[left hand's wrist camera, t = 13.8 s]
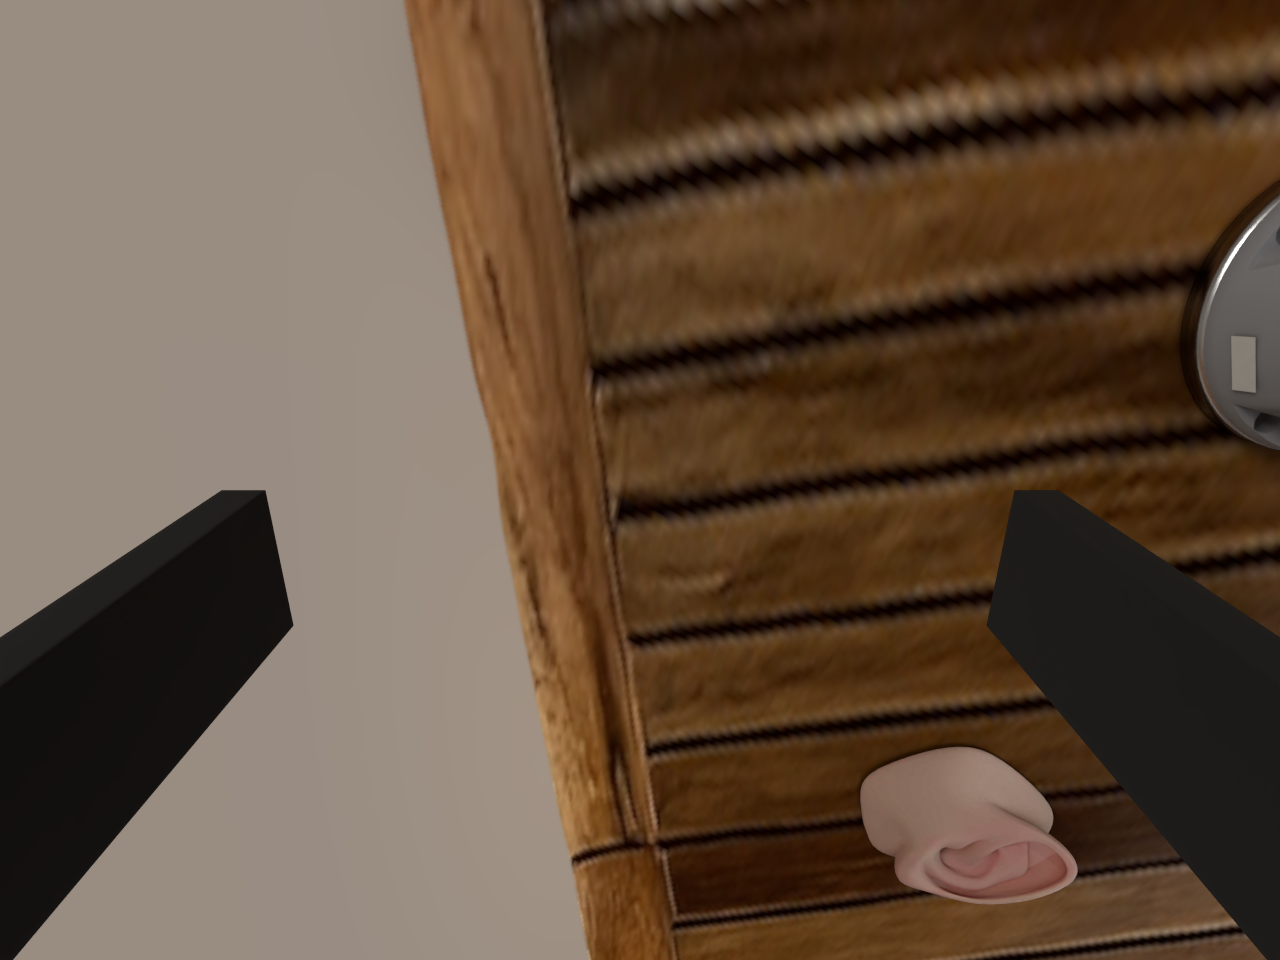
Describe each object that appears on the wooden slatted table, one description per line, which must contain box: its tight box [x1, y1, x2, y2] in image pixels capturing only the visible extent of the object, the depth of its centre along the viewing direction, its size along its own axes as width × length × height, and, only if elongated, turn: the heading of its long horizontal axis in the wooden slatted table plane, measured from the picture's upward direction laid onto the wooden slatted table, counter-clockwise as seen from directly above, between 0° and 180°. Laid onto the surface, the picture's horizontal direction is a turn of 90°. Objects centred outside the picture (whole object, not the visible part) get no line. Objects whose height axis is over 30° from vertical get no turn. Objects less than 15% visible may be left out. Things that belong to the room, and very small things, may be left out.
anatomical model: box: [860, 747, 1077, 904], centre depth 47 cm, size 13×4×12 cm
